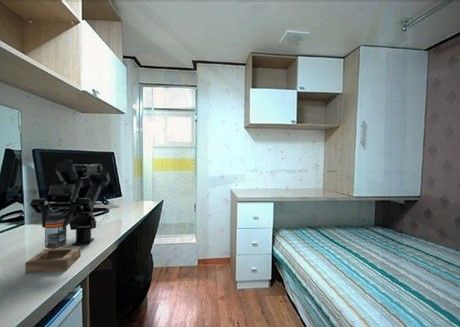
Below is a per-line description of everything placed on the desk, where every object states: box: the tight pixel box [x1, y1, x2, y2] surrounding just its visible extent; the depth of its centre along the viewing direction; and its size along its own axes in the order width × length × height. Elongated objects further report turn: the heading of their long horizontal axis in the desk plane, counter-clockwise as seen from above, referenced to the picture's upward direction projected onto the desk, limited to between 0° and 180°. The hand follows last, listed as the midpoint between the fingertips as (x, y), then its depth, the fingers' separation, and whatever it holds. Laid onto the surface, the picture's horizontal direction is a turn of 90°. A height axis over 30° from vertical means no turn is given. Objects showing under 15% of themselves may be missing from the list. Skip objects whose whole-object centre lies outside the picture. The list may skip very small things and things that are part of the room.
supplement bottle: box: [44, 211, 67, 249], centre depth 79 cm, size 6×6×11 cm
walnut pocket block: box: [24, 246, 82, 275], centre depth 79 cm, size 11×11×4 cm
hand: (53, 226), depth 78 cm, fingers closed on supplement bottle, 6 cm apart
